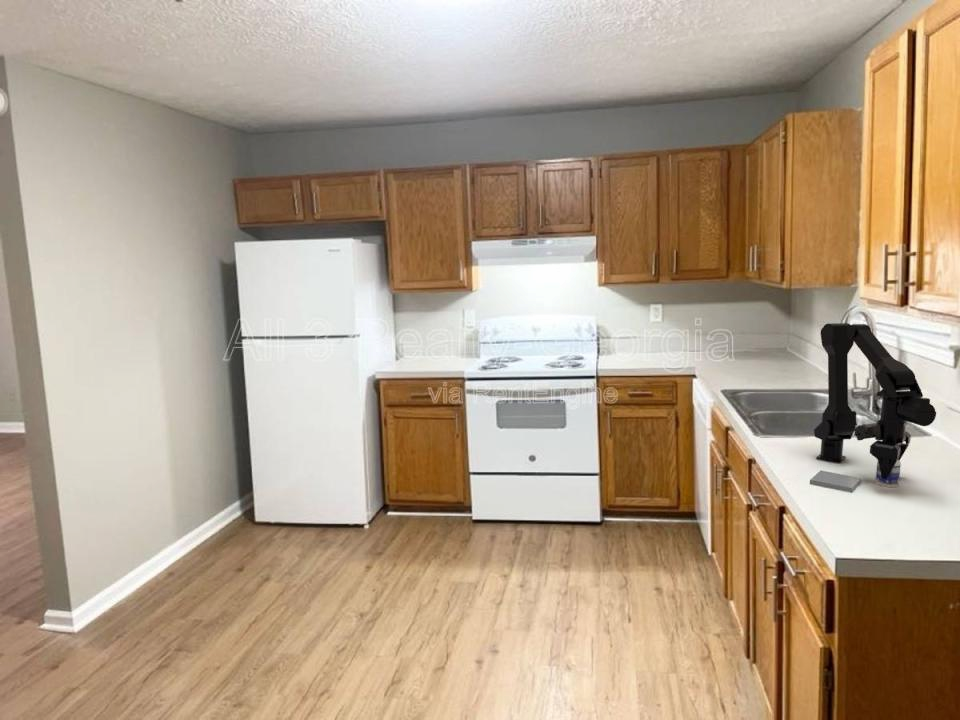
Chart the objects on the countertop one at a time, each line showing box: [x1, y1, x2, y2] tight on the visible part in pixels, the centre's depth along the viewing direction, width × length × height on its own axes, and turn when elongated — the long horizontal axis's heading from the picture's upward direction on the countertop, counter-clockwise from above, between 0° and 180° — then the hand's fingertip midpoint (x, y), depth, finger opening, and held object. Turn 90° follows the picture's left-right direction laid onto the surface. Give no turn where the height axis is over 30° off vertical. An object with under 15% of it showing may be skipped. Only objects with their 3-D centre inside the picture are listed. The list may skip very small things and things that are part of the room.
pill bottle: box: [875, 460, 902, 488], centre depth 184 cm, size 5×5×9 cm
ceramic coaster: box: [809, 470, 862, 494], centre depth 186 cm, size 10×10×1 cm
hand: (887, 474), depth 185 cm, fingers open, 9 cm apart
